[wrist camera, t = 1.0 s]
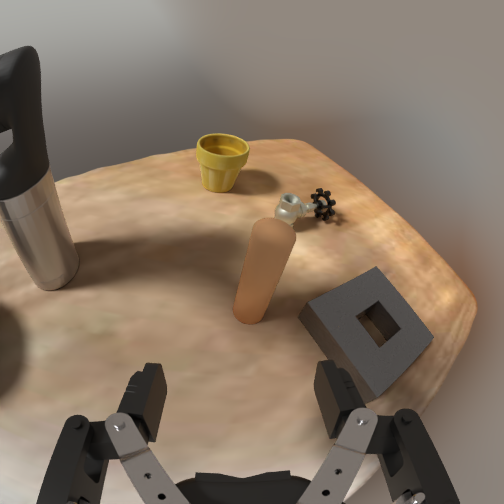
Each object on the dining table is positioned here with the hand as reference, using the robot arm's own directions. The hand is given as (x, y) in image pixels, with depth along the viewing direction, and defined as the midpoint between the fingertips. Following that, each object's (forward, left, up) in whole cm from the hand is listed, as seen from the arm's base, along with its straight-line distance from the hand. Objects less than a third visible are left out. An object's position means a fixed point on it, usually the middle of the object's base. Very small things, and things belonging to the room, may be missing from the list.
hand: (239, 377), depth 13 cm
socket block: (0, +25, -19) cm, 32 cm away
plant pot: (-41, +20, -19) cm, 49 cm away
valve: (-25, +30, -20) cm, 43 cm away
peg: (-12, +11, -19) cm, 25 cm away
